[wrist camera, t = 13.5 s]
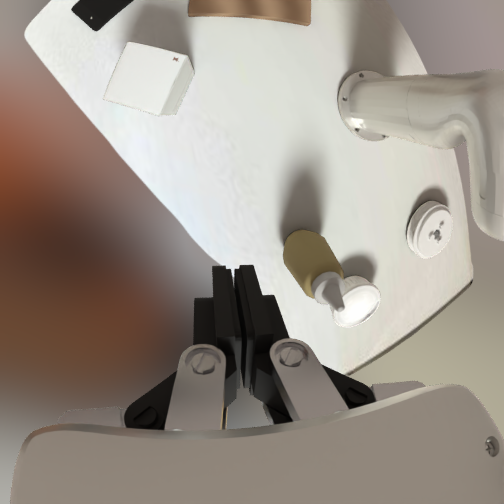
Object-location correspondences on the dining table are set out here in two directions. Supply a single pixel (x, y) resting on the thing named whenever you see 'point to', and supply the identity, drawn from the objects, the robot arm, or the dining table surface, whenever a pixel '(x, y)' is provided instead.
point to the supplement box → (150, 79)
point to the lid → (429, 229)
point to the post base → (255, 9)
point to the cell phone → (98, 11)
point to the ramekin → (357, 302)
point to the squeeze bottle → (315, 267)
